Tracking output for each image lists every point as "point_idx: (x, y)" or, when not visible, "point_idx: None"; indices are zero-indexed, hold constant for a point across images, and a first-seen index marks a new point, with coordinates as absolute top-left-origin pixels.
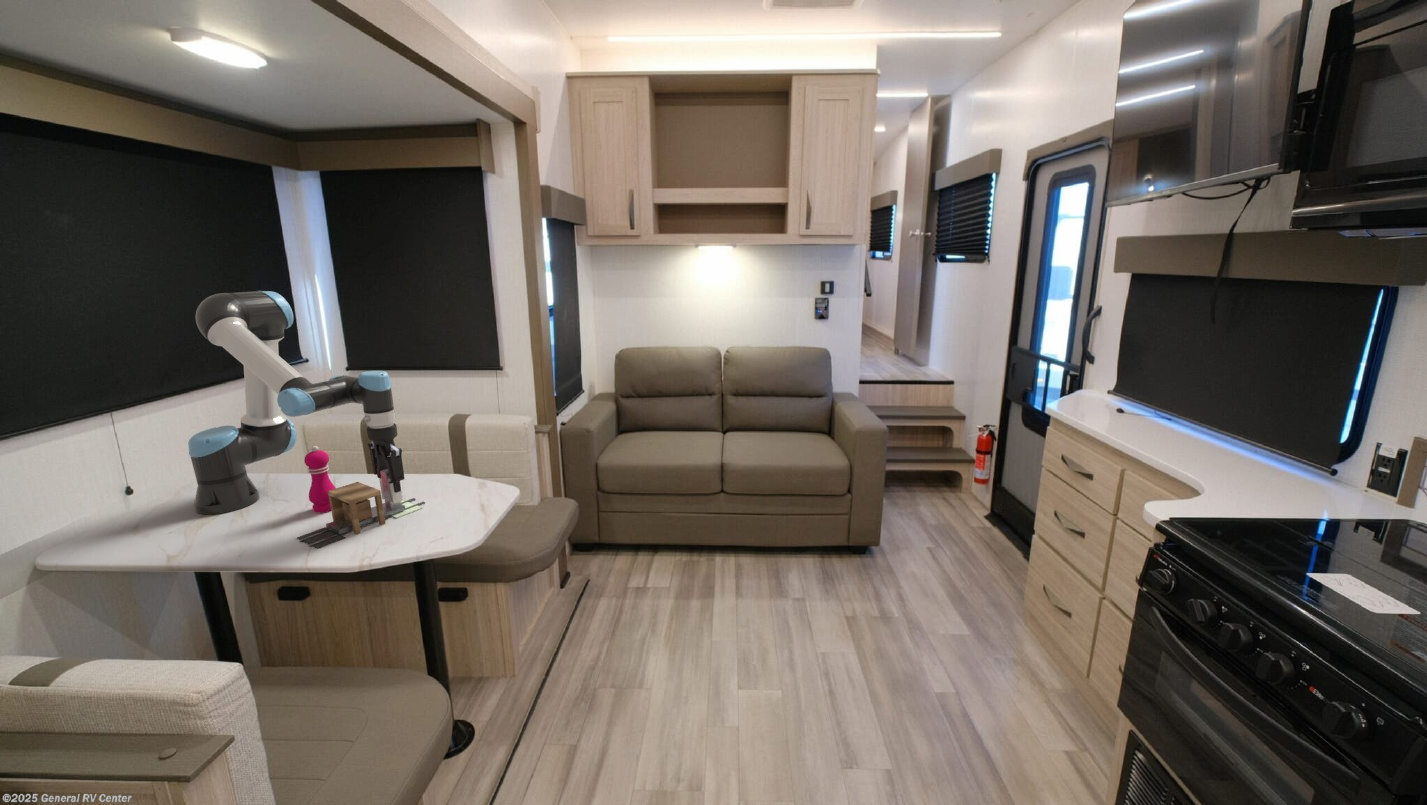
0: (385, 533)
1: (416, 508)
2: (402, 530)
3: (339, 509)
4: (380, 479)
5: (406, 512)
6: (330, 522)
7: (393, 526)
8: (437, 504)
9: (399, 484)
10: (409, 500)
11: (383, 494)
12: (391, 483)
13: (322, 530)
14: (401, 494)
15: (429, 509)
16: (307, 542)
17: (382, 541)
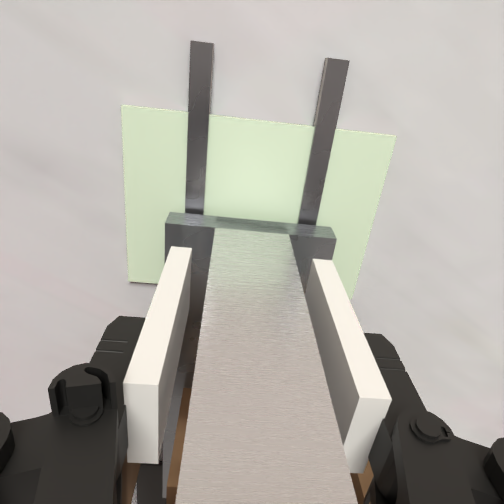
0: (427, 397)
1: (370, 167)
2: (485, 356)
3: (129, 489)
4: (153, 460)
5: (353, 234)
6: (164, 486)
7: (409, 350)
8: (457, 23)
9: (415, 399)
10: (208, 98)
11: (183, 331)
12: (362, 459)
13: (160, 479)
14: (343, 290)
15: (456, 123)
16: None
17: (470, 433)
